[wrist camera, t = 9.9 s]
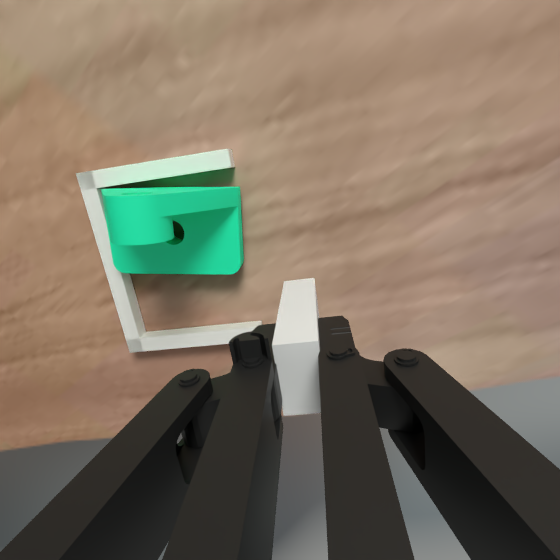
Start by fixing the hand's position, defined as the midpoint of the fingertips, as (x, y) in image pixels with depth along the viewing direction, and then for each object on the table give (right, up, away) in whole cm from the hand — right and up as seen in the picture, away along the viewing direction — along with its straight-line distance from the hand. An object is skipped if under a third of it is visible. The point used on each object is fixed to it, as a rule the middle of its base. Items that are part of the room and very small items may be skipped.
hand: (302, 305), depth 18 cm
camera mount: (-10, +6, +17) cm, 21 cm away
